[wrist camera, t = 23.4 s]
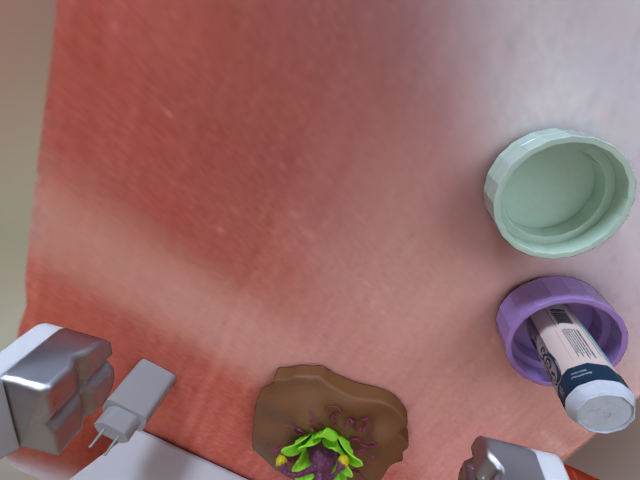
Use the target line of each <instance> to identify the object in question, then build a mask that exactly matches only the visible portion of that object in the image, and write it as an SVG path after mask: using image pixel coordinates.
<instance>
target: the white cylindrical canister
mask: <svg viewBox="0 0 640 480" xmlns="http://www.w3.org/2000/svg"><path fill="white" fill-rule="evenodd" d="M525 329H526V331H527V333H528V335H529V338H530V340H531V342H532V344H533V346H534V348H535V350H536V352H537V354H538V356H539V358H540V360H541V362H542V364H543V366H544V368H545V370H546V372H547V374H548V376H549V378H550V380H551V382H552V384H553V386H554V388H555V390H556V392H557V394H558V396H559V398H560V400H561V402H562V404H563V406H564V408H565V410H566V412H567V414H568V415H569V417H570V418H571V419H572V420H574V421H575V422H577V423H579V424H580V425H581V426H583V427H584V428H586V429H587V430H588V431H591V432H598V433H605V434H608V433H611V432H615V431H619V430H623V429H624V428H626V427H627V426H628V425H629V424H630V423H631V422H632V421H633V420H634V419H635V397H634V395H633V393H632V391H631V390H630V389H629V387H628V386H627V384H626V383H625V382H624V380H623V379H622V378H621V376H620V375H619V373H618V372H617V371H616V369H615V368H614V366H613V365H612V364H611V362H610V361H609V360H608V358H607V357H606V355H605V354H604V353H603V351H602V350H601V349H600V347H599V346H598V344H597V343H596V342H595V340H594V339H593V337H592V336H591V335H590V333H589V332H588V331H587V329H586V328H585V326H584V325H583V324H582V322H581V321H580V320H579V318H578V317H577V315H576V314H575V313H574V312H573V310H572V309H570V308H569V307H567V306H565V305H563V304H555V305H552V306H549V307H546V308H543V309H540V310H538V311H536V312H535V313H533V314H532V315H530V316H529V317H527V318H526V321H525Z"/></svg>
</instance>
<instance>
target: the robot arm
mask: <svg viewBox="0 0 640 480" xmlns="http://www.w3.org/2000/svg"><path fill="white" fill-rule="evenodd" d="M111 355H112V347H111V342H109V341H107V340H105V339H102V338H98V337H95V336H91V335H88V334H84V333H81V332H77V331H74V330H70V329H67V328H62V327H59V326H55V325H52V324H48V323H43V324H39V325H36V326H35V327H33V328H32V329H31V330H29V331H28V332H26V333H25V334H24V335H22V336H21V337H20V338H18V339H17V340H16V341H14V342H13V343H11V344H10V345H9V346H7V347H6V348H5V349H3V350H2V351H0V459H2V458H3V457H5V456H7V455H9V454H11V453H12V452H14V451H16V450H18V449H19V446H22V447H26V448H30V449H34V450H38V451H42V452H46V453H50V454H54V455H57V456H59V455H60V454H61V453H62V451H63V450H64V449H65V448H66V447H67V446H68V444H69V443H70V442H71V441H72V440H73V439H74V437H75V436H76V435H77V434H78V433H79V432H80V430H81V429H82V426H83V418H84V417H86V416H88V415H90V414H92V413H94V412H96V411H97V410H98V409H99V408H100V407H101V406H102V404H103V403H104V402H105V401H106V399H107V397H108V395H109V393H110V391H111V389H112V386H113V381H114V368H113V367H112V366H111V364H110V363H109V362H108V360H107V359H108V358H109V357H110V356H111ZM471 450H472V455H473V457H472V458H470V459H468V460H466V461H464V463H463V465H462V467H461V469H460V472H459V477H458V480H570V479H569V476H568V474H567V472H566V469H565V467H564V465H563V462H562V460H561V459H560V458H559V457H558V456H557V455H555V454H551V453H547V452H543V451H539V450H535V449H531V448H527V447H524V446H520V445H516V444H512V443H508V442H504V441H500V440H496V439H491V438H487V437H483V436H479V437H477V438H476V439H475V441H474V442H473V444H472V446H471Z"/></svg>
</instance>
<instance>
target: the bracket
mask: <svg viewBox="0 0 640 480" xmlns="http://www.w3.org/2000/svg"><path fill="white" fill-rule="evenodd" d="M104 454H105V453H104ZM104 454H103V455H101V456H100V457H99V458H97V459H96V460H95V461H93V462H92V463H91V464H89V465H88V466H87V467H85V468H84V469H83V470H81V471H80V472H79V473H77V474H76V475H74V476H73V477H72V478H70V479H69V480H248V479H246V478H243V477H241V476H239V475H237V474H235V473H233V472H230V471H228V470H226V469H224V468H222V467H220V466H218V465H215V464H213V463H211V462H209V461H207V460H205V459H202V458H200V457H198V456H196V455H194V454H192V453H190V452H187V451H185V450H183V449H181V448H179V447H177V446H174V445H172V444H170V443H168V442H166V441H164V440H162V439H159V438H157V437H155V436H153V435H151V434H149V433H146V432H144V431H135V433H134V434H133V436H132V437H131V439H130V440H129V441H128V442H126V443H117V444H116V445H115V446H113V447H112V448H111V449H110V451H109V452H108V454H107V455H106V456H104Z"/></svg>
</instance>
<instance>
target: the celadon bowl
mask: <svg viewBox="0 0 640 480" xmlns="http://www.w3.org/2000/svg"><path fill="white" fill-rule="evenodd" d="M635 191H636V178H635V175H634V172H633V169H632V166H631V164H630V162H629V160H628V159H627V158H626V157H625V156H624V155H623V154H622V153H621V151H620V150H619V149H618V148H617V147H615V146H613V145H611V144H609V143H607V142H605V141H602V140H600V139H598V138H596V137H593V136H590V135H588V134H585V133H582V132H579V131H577V130H573V129H563V128H550V129H545V130H540V131H535V132H532V133H530V134H528V135H526V136H524V137H522V138H520V139H518V140H516V141H514V142H513V143H512V144H511V145H509V146H508V147H507V148H506V149H505V150H504V151H503V152H502V153H500V154H499V156H498V157H497V158H496V160H495V162H494V163H493V165H492V166H491V168H490V170H489V171H488V174H487V178H486V182H485V186H484V201H485V207H486V209H487V211H488V213H489V215H490V217H491V219H492V221H493V222H494V224H495V226H496V227H497V229H498V230H499V232H500V234H501V235H502V237H503V238H504V239H505V240H507V241H508V242H509V243H510V244H511V245H512V246H513V247H514V248H515V249H517V250H519V251H522V252H524V253H526V254H528V255H530V256H534V257H542V258H549V259H556V258H564V257H572V256H575V255H578V254H581V253H583V252H586V251H589V250H591V249H593V248H595V247H597V246H598V245H600V244H601V243H603V242H604V241H605V240H607V239H608V238H610V237H611V236H612V235H613V234H614V233H615V232H616V231H617V230H618V228H619V227H620V226H621V225H622V224H623V223H624V221H625V220H626V219H627V217H628V215H629V212H630V210H631V208H632V205H633V203H634V201H635Z"/></svg>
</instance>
